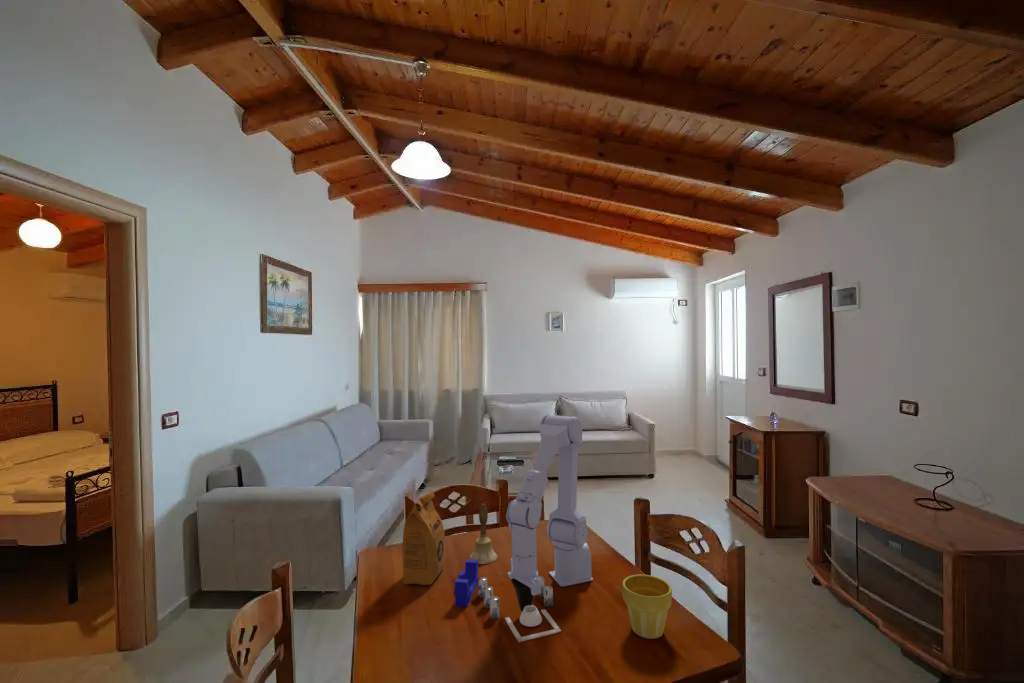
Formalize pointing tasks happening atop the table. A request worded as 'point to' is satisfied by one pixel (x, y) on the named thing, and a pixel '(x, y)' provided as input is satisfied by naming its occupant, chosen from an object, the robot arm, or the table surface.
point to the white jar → (530, 616)
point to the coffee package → (423, 543)
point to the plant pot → (647, 604)
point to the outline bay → (520, 639)
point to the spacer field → (493, 601)
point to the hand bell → (483, 542)
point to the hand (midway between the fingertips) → (525, 610)
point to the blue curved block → (466, 583)
